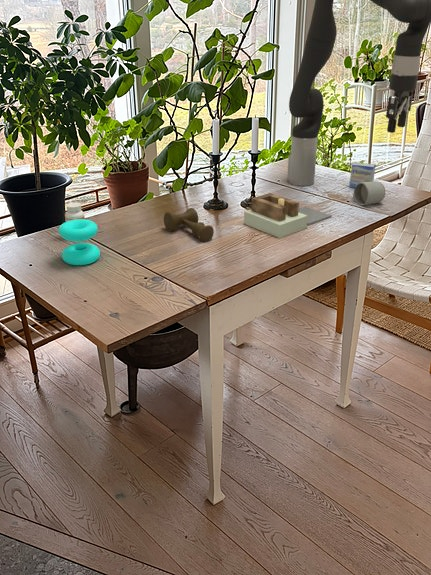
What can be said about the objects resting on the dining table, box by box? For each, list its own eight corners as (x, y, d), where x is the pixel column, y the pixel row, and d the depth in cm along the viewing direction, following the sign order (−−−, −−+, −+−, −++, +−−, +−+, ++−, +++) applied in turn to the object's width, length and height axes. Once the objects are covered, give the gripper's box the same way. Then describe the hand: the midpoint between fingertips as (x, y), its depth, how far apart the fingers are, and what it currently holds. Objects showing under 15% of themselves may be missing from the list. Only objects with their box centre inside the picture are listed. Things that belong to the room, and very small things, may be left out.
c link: (251, 210, 179) (251, 198, 177) (269, 205, 184) (270, 192, 182) (279, 221, 171) (280, 208, 169) (298, 215, 176) (299, 202, 174)
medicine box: (348, 188, 212) (351, 164, 208) (351, 184, 216) (353, 161, 212) (370, 190, 210) (374, 166, 206) (372, 187, 213) (375, 163, 209)
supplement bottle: (86, 232, 174) (83, 201, 170) (86, 239, 170) (83, 207, 165) (68, 233, 173) (64, 202, 169) (67, 240, 169) (63, 208, 164)
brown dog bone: (193, 247, 166) (156, 224, 180) (220, 240, 171) (182, 219, 185) (194, 228, 163) (156, 206, 177) (221, 221, 168) (182, 201, 182)
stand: (243, 223, 181) (244, 195, 176) (271, 214, 188) (272, 187, 183) (279, 237, 171) (280, 208, 166) (306, 227, 178) (308, 199, 173)
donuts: (92, 215, 159) (101, 228, 151) (95, 249, 163) (104, 263, 155) (54, 220, 155) (61, 234, 147) (59, 255, 160) (66, 269, 152)
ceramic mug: (385, 204, 196) (388, 182, 193) (366, 208, 193) (369, 185, 190) (364, 196, 205) (367, 174, 201) (346, 199, 201) (348, 177, 198)
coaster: (282, 215, 187) (282, 214, 186) (305, 208, 193) (305, 206, 193) (308, 225, 179) (308, 223, 179) (331, 217, 186) (331, 215, 186)
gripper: (400, 68, 174) (392, 123, 182) (383, 74, 164) (375, 132, 172) (425, 70, 170) (416, 126, 178) (409, 76, 160) (400, 136, 168)
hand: (396, 129), depth 175 cm, fingers open, 8 cm apart
